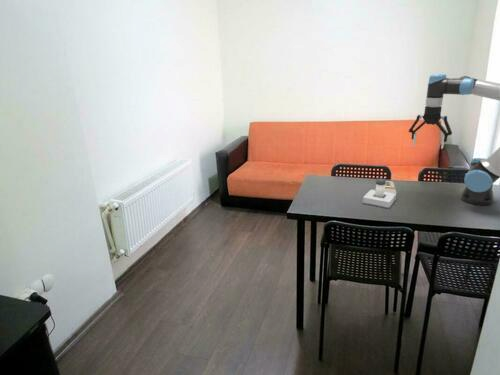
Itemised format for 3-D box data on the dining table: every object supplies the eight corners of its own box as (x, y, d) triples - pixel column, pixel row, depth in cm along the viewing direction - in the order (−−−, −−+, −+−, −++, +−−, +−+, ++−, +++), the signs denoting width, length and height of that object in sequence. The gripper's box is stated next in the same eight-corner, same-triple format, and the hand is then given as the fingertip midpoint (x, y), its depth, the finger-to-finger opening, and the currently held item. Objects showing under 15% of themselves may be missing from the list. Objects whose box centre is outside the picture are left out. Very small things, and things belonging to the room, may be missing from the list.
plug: (384, 199, 194) (386, 179, 189) (382, 202, 190) (384, 182, 186) (375, 198, 196) (377, 178, 192) (373, 201, 193) (375, 180, 188)
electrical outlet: (383, 191, 198) (380, 180, 214) (382, 197, 199) (380, 186, 216) (397, 191, 196) (393, 181, 212) (396, 198, 198) (392, 187, 214)
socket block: (395, 199, 195) (396, 193, 193) (388, 208, 184) (389, 202, 183) (370, 195, 202) (370, 189, 201) (362, 203, 192) (363, 197, 190)
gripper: (462, 105, 174) (455, 147, 181) (408, 104, 187) (404, 142, 195) (460, 107, 168) (453, 150, 175) (405, 105, 182) (401, 145, 189)
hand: (427, 146), depth 185 cm, fingers open, 13 cm apart
